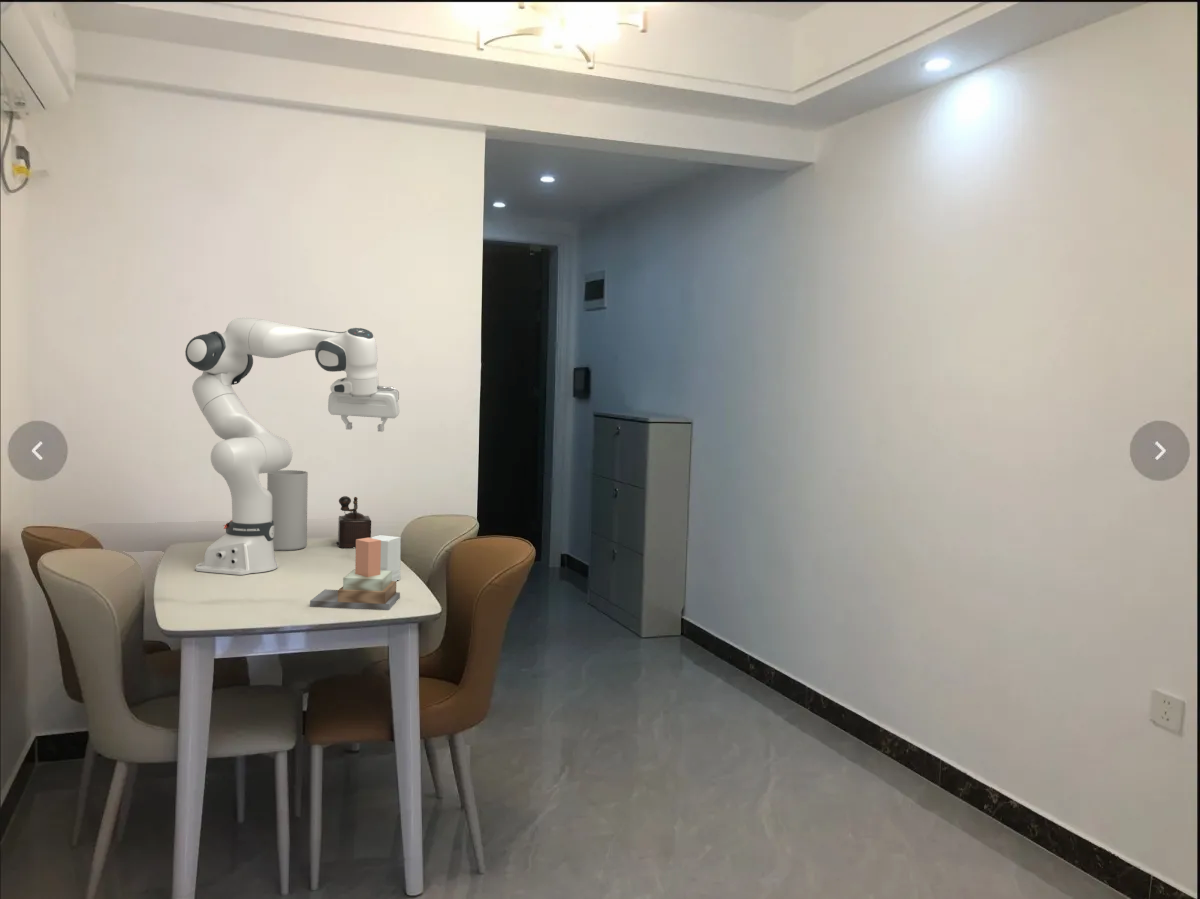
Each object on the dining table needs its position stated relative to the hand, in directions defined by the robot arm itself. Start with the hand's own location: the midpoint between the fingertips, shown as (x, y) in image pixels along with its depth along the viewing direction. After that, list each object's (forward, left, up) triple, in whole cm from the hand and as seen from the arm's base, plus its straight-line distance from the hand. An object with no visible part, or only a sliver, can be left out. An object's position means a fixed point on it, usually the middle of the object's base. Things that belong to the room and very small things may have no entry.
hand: (365, 429), depth 266 cm
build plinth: (+8, -35, -42) cm, 56 cm away
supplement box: (+9, -11, -42) cm, 45 cm away
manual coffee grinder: (-13, +36, -42) cm, 57 cm away
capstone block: (+11, -35, -35) cm, 51 cm away
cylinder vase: (-33, +30, -42) cm, 62 cm away
